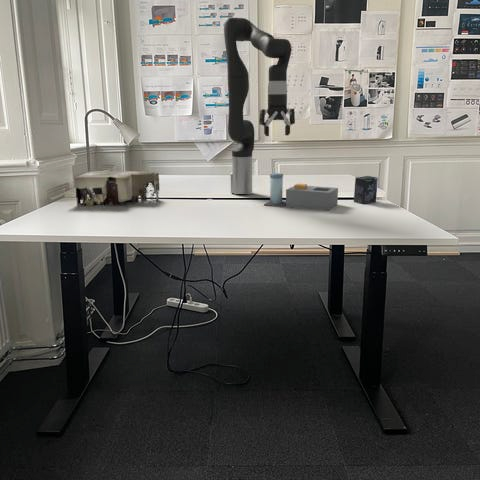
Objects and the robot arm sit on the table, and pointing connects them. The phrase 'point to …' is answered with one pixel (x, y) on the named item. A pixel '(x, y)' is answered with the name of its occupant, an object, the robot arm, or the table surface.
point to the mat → (275, 204)
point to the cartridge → (276, 188)
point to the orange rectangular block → (300, 186)
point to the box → (365, 189)
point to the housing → (312, 197)
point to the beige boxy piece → (114, 187)
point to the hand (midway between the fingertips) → (277, 135)
